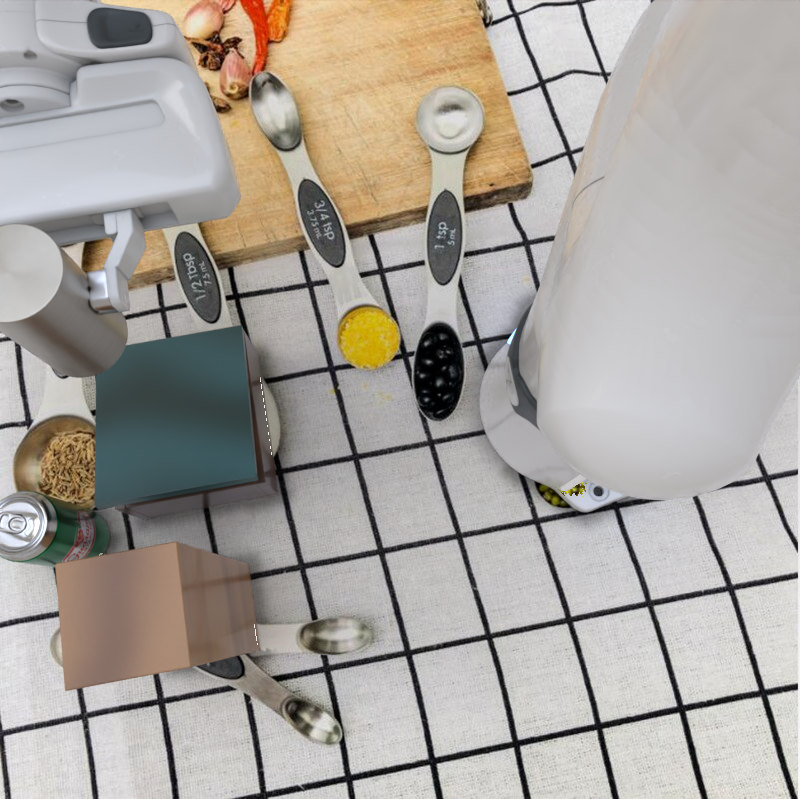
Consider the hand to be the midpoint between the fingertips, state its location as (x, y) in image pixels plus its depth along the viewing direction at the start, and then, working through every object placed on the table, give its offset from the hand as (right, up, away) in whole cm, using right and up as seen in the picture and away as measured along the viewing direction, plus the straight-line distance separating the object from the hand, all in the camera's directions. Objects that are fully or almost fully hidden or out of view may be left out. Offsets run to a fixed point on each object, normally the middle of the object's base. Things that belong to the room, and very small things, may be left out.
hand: (49, 320), depth 41 cm
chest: (0, -7, +31) cm, 31 cm away
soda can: (-9, -16, +29) cm, 34 cm away
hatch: (0, -5, +22) cm, 23 cm away
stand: (+2, -21, +27) cm, 34 cm away
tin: (0, 0, +5) cm, 5 cm away
